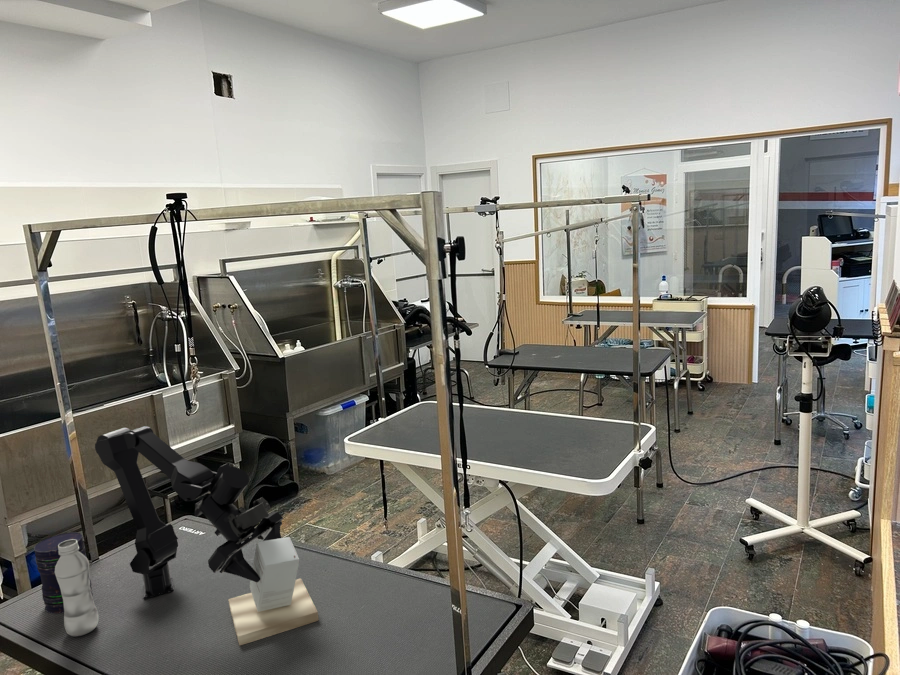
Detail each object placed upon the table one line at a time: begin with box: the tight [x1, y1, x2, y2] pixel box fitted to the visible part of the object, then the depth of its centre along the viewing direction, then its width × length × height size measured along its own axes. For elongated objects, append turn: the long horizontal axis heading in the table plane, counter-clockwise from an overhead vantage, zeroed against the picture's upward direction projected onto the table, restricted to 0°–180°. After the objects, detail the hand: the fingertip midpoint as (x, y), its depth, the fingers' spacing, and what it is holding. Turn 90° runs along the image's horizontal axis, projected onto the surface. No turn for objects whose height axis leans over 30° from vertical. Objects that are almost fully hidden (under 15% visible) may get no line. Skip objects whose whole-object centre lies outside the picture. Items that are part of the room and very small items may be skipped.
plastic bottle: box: [55, 539, 99, 637], centre depth 139 cm, size 6×7×20 cm
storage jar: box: [33, 531, 94, 615], centre depth 152 cm, size 10×10×15 cm
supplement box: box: [248, 536, 300, 612], centre depth 138 cm, size 7×7×13 cm
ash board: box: [227, 578, 319, 646], centre depth 141 cm, size 16×16×2 cm
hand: (273, 569), depth 138 cm, fingers closed on supplement box, 9 cm apart
